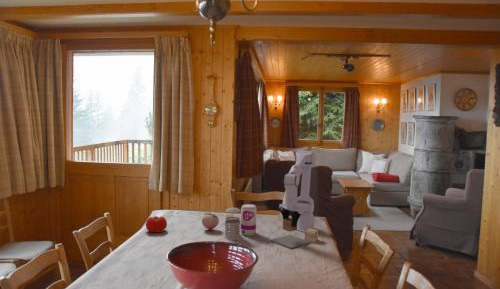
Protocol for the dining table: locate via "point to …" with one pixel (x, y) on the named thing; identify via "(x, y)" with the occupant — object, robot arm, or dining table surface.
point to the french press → (232, 224)
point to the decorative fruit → (210, 221)
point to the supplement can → (248, 219)
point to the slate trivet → (290, 241)
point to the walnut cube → (288, 225)
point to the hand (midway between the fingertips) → (290, 225)
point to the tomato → (156, 224)
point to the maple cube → (311, 235)
